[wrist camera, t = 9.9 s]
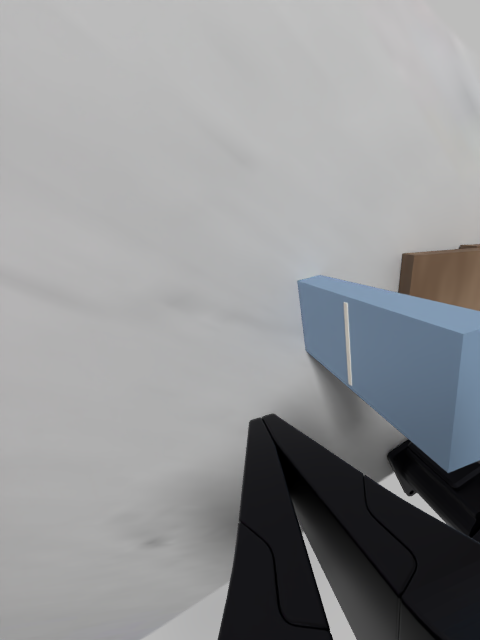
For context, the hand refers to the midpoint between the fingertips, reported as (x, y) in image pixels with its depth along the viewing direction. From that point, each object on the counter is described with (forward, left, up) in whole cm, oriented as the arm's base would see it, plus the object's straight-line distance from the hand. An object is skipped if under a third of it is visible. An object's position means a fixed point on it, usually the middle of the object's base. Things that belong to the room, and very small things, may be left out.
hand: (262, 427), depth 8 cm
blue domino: (-2, -6, -8) cm, 10 cm away
